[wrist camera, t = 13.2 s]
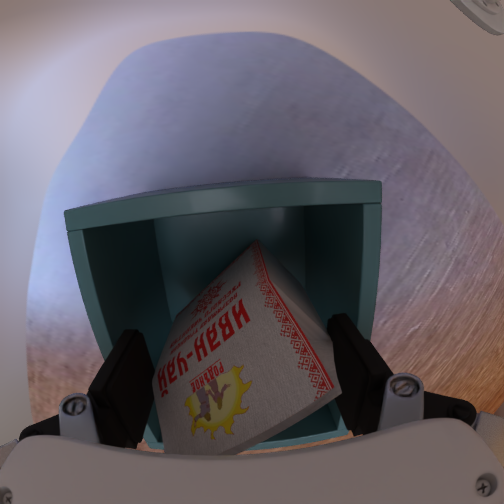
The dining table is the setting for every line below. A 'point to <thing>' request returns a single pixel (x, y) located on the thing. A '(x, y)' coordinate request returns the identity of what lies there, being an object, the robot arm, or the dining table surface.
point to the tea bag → (243, 361)
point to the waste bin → (227, 261)
